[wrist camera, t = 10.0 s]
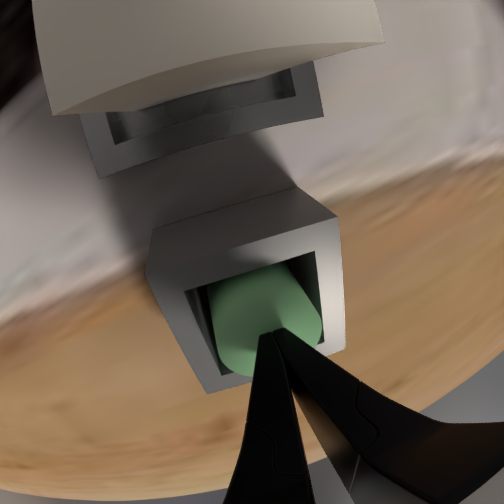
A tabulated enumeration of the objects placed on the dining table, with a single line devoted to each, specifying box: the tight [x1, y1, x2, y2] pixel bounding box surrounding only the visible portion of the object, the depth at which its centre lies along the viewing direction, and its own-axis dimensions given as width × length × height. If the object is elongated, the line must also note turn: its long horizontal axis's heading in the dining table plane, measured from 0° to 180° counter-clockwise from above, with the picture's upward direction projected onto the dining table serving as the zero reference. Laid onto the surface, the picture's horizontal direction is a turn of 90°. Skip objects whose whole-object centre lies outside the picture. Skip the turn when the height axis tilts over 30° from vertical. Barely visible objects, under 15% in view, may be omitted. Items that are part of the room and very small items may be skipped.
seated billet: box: [32, 0, 385, 116], centre depth 5 cm, size 4×4×7 cm
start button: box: [207, 261, 322, 377], centre depth 11 cm, size 3×3×3 cm
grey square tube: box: [145, 187, 345, 394], centre depth 12 cm, size 6×6×4 cm
